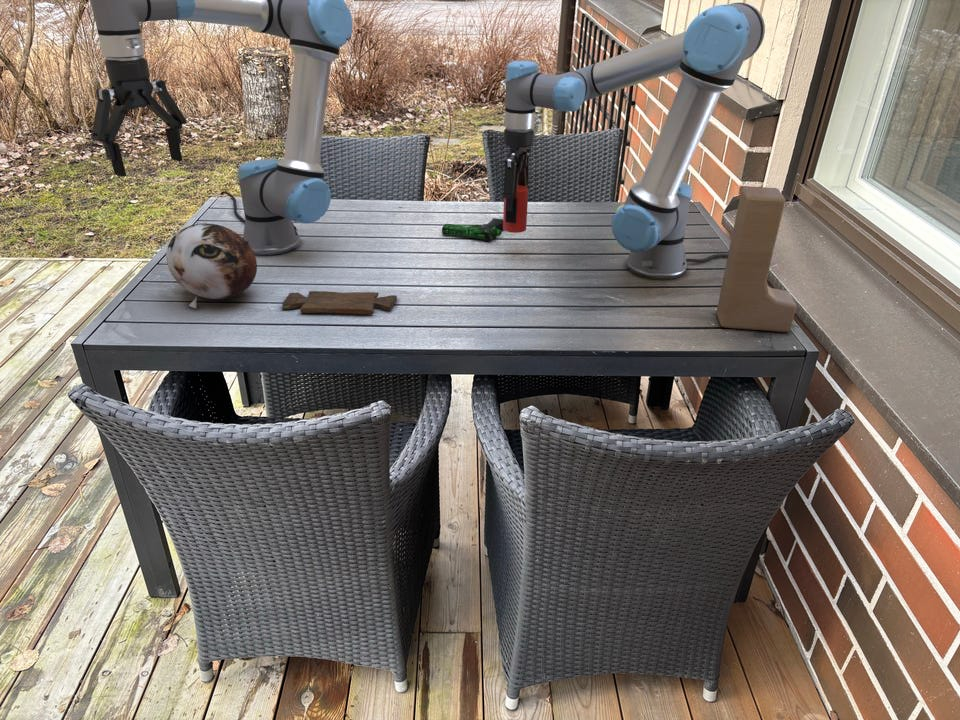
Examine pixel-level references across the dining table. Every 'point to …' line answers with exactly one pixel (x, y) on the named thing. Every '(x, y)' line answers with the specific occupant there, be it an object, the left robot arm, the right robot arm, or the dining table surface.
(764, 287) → the decorative block
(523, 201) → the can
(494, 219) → the handgun
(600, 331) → the dining table surface
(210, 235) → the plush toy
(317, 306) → the dark wooden board
